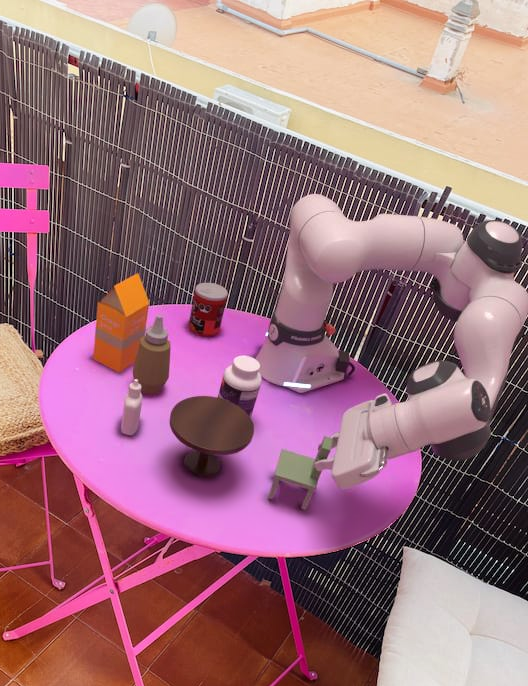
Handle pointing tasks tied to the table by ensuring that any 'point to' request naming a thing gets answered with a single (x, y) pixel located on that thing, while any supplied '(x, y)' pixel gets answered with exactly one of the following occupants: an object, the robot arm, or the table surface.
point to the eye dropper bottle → (132, 409)
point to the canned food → (207, 309)
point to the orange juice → (121, 324)
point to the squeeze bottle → (153, 359)
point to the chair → (300, 470)
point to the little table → (210, 431)
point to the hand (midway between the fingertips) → (317, 457)
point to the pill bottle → (241, 383)
